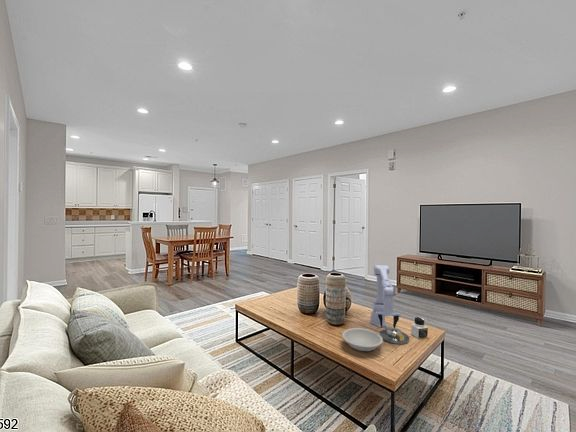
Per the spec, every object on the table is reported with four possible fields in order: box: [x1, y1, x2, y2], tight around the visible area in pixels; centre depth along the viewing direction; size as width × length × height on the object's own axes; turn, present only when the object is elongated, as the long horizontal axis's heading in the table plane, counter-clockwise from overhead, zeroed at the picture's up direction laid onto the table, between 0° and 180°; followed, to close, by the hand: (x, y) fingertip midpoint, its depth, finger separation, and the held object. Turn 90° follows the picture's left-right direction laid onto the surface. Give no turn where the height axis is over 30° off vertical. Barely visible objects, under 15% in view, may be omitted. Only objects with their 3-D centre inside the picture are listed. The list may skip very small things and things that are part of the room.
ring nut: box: [384, 324, 404, 341], centre depth 180 cm, size 9×16×3 cm, turn 23°
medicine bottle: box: [410, 316, 429, 340], centre depth 183 cm, size 7×7×12 cm
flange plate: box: [379, 329, 410, 346], centre depth 180 cm, size 18×18×2 cm
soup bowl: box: [341, 327, 384, 352], centre depth 168 cm, size 24×24×7 cm
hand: (387, 326), depth 174 cm, fingers open, 7 cm apart
